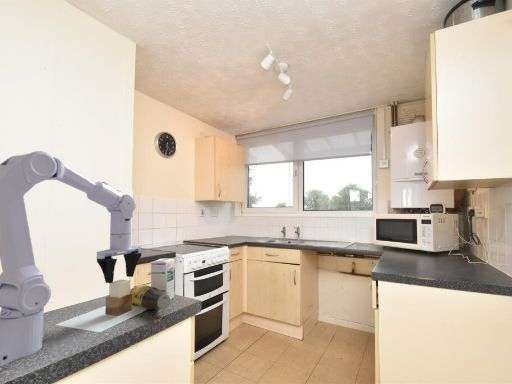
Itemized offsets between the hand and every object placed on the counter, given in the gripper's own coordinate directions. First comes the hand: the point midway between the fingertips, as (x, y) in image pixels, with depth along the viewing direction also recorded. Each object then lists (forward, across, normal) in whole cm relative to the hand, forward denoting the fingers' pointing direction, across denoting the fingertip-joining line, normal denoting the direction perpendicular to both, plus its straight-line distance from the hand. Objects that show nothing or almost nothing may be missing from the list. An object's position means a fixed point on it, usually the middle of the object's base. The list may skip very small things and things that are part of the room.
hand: (120, 279), depth 80 cm
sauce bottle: (+8, +10, +3) cm, 13 cm away
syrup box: (+11, +12, -6) cm, 17 cm away
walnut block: (+10, 0, 0) cm, 10 cm away
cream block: (+5, 0, 0) cm, 5 cm away
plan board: (+10, -3, +2) cm, 11 cm away
